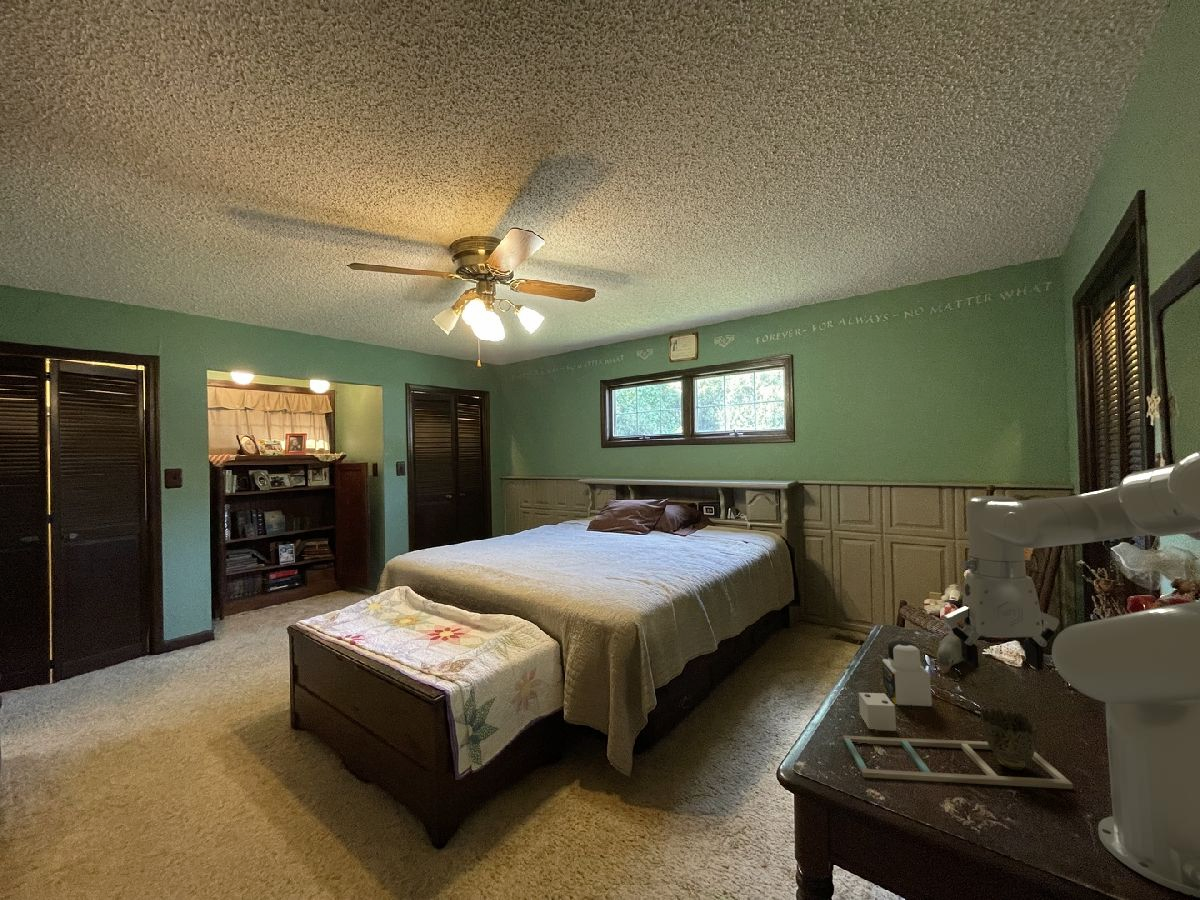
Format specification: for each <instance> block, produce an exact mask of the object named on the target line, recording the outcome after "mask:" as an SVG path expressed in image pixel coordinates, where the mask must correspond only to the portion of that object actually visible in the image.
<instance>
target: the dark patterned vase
mask: <svg viewBox="0 0 1200 900" xmlns="http://www.w3.org/2000/svg"><path fill="white" fill-rule="evenodd" d="M980 717H981V721H982V726H983V731H984V735H985V739H986V740H985V741H986V742H988V745H989V746H990V748H991V749H990V750H992V752H993V753H995V755H996V758H997V760H998V762H999V763H1000V764H1001V766H1003V767H1005V768H1007V769H1011V770H1014V771H1022V770H1024V769H1025V766H1026V762H1028V761H1029V760H1031V759H1032V757H1033V755H1034V752H1036V746H1037V745H1036V744H1037V735H1038V734H1037V733H1038V732H1037V731H1038V726H1037V723H1036V722H1033V724H1032V723H1030V721H1029V718H1028V716H1023V714H1022V713H1021V712H1015V713H1014V714H1012V711H1011V710H1010V709H1008V710H1007V711H1006V713H1005V712H1004V711H1003V710H1002V709H1001V708H997V710H996V709H995V708H993V707H992V708H991V709H990V711H989V709H988V708H986V709H985V710H981V711H980Z"/></svg>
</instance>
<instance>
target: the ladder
mask: <svg viewBox="0 0 1200 900" xmlns="http://www.w3.org/2000/svg"><path fill="white" fill-rule="evenodd" d="M843 739H844V740H843ZM842 740H843V742H844V741H845V742H844V744H845V743H846V744H845V746H846V745H847V746H846V748H847V747H848V748H847V750H848V749H849V750H848V752H849V753H850V755H851V757H852V756H853V757H852V758H854V759H853V760H854V762H855V765H856V766H857V767H858V769H859V772H860V773H861V775H862V777H863V778H871V779H872V778H873V779H887V780H888V779H889V780H890V779H891V780H908V781H909V780H910V781H921V782H922V781H924V782H939V783H940V782H941V783H942V782H943V783H961V784H962V783H963V784H976V785H977V784H978V785H995V786H1014V787H1028V788H1029V787H1030V788H1031V787H1032V788H1047V789H1048V788H1049V789H1062V790H1063V789H1065V790H1074V784H1073V783H1072V782H1071V781H1070V780H1069V779H1067V778H1066V777H1065V775H1063V774H1062V773H1061V772H1059V771H1058V770H1057V769H1056V768H1055V767H1054V766H1052V765H1051V764H1050V763H1049V762H1048V761H1046V760H1045V758H1043V757H1042V756H1041V755H1040V754H1038V753H1037V752H1036V751H1035V752H1034V755H1033V757H1032V758H1031V759H1032V760H1033V761H1034V762H1036V764H1037V765H1038V766H1040V768H1042V769H1043V770H1044V771H1045V772H1047V774H1049V775H1050V776H1051V777H1052V778H1039V777H1021V776H1001V775H998V774H997V773H996V772H995V771H994V770H993V769H992V767H990V766H989V765H988V764H987V763H986V762H985V761H984V760H983V759H982V758H981V757H980V755H978V753H976V751H974V750H976V749H977V750H992V749H991V748H990V746H989V745H988V742H987V741H980V740H975V741H974V740H954V739H953V740H952V739H950V740H949V739H934V738H933V739H932V738H931V739H929V738H906V737H889V736H888V737H885V736H884V737H883V736H865V735H864V736H863V735H861V736H859V735H842ZM852 742H858V743H857V744H861V743H867V745H885V746H902V747H903V749H904V750H905V752H906V753H907V754H908V755H909V757H910V758H911V760H912V761H913V762H914V763H915V766H916V767H917V768H918V769H919V770H920V771H910V770H908V771H907V770H892V769H873V768H868V767H867V766H866V764H865V762H864V760H863V759H862V757H861V755H860V753H859V751H858V750H857V748H856V746H855V745H854V743H852ZM912 746H913V747H912ZM914 747H930V748H931V747H933V748H951V749H952V748H953V749H961V750H963V752H965V754H966V755H967V756H968V757H969V758H970V759H971V761H973V762H974V763H975V765H976V766H978V768H979V769H980V770H981V771H982V772H983V773H984V774H985V775H984V774H982V775H981V774H965V773H951V772H950V773H947V772H932V771H931V770H930V768H929V767H928V766H927V764H926V763H925V762H924V761H923V760H922V758H921V756H919V754H918V753H917V752H916V751H915V749H914ZM973 749H974V750H973Z"/></svg>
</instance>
